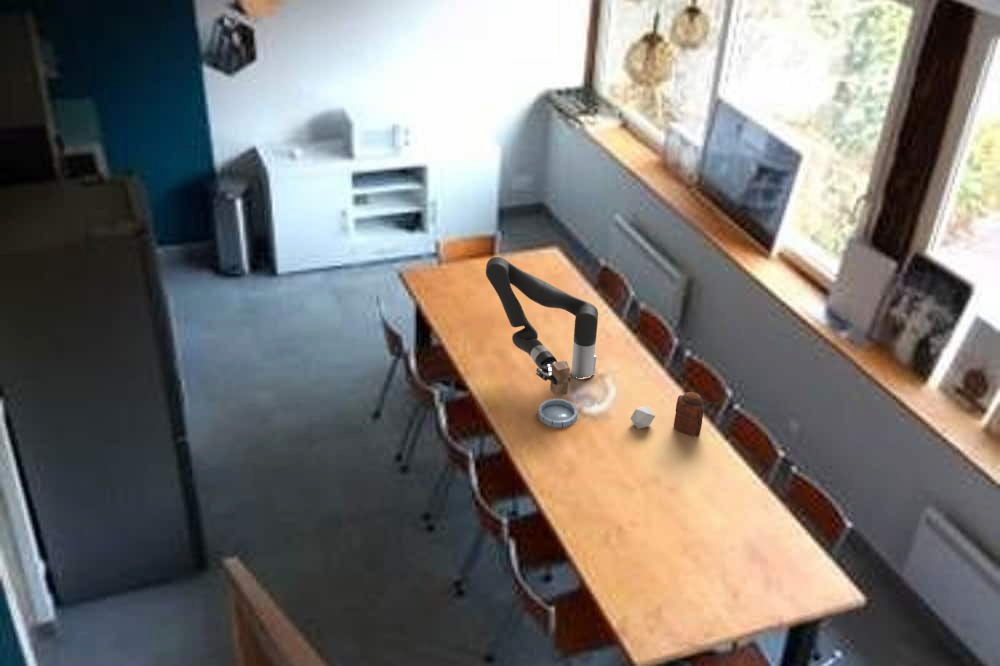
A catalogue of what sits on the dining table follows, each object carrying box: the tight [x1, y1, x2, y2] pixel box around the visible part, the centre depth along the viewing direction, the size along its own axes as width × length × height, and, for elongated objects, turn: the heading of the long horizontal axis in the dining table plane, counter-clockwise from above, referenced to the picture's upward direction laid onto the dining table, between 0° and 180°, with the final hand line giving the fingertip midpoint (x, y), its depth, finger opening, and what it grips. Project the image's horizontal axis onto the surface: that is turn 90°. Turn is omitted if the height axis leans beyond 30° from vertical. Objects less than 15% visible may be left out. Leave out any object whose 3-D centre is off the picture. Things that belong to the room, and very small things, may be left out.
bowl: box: [537, 397, 578, 429], centre depth 419 cm, size 16×16×3 cm
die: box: [629, 405, 656, 430], centre depth 413 cm, size 8×9×10 cm
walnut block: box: [549, 360, 571, 398], centre depth 409 cm, size 5×5×13 cm
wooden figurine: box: [673, 391, 705, 437], centre depth 409 cm, size 12×6×18 cm, turn 61°
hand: (562, 381), depth 407 cm, fingers closed on walnut block, 5 cm apart
